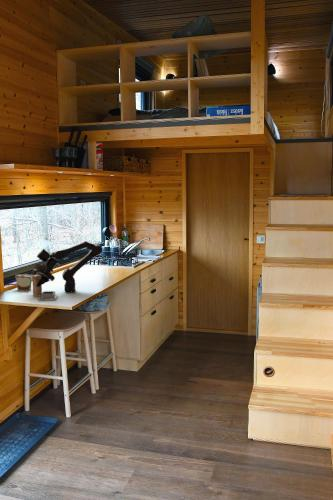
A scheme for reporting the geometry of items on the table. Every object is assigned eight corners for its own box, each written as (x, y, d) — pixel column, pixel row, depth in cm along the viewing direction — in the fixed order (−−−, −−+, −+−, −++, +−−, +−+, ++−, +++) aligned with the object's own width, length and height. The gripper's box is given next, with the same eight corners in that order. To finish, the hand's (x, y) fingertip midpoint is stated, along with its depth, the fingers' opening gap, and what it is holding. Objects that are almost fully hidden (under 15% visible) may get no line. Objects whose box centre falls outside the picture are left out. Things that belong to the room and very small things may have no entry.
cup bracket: (57, 296, 311) (57, 290, 310) (56, 300, 301) (55, 294, 300) (41, 296, 310) (41, 291, 309) (39, 300, 300) (39, 294, 299)
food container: (36, 289, 332) (36, 274, 330) (31, 291, 326) (30, 276, 325) (21, 287, 336) (20, 273, 334) (15, 289, 330) (15, 275, 328)
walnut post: (38, 294, 316) (37, 274, 314) (42, 295, 313) (41, 275, 312) (33, 295, 313) (32, 275, 311) (36, 296, 310) (35, 276, 309)
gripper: (33, 257, 319) (18, 276, 313) (49, 260, 306) (35, 280, 300) (44, 267, 326) (30, 286, 320) (60, 271, 313) (46, 290, 307)
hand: (35, 285), depth 311 cm, fingers open, 5 cm apart
